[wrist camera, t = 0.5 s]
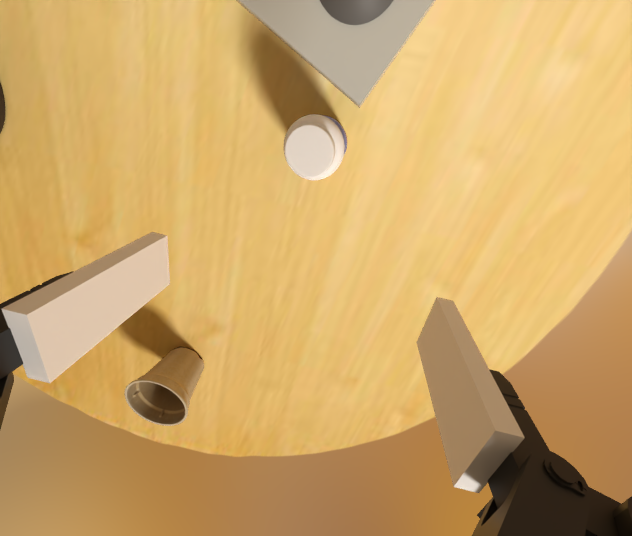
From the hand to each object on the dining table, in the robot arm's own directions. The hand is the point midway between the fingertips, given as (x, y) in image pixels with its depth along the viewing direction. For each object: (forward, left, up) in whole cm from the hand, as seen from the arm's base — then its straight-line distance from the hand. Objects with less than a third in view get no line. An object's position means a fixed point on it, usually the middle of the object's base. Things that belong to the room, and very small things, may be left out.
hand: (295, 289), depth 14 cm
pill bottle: (-4, +3, -22) cm, 23 cm away
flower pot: (-2, -38, -22) cm, 44 cm away
